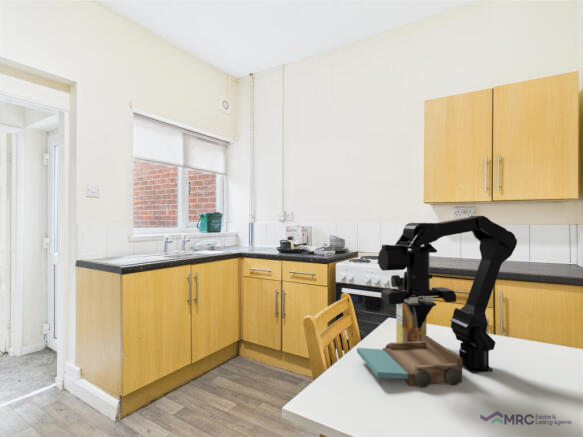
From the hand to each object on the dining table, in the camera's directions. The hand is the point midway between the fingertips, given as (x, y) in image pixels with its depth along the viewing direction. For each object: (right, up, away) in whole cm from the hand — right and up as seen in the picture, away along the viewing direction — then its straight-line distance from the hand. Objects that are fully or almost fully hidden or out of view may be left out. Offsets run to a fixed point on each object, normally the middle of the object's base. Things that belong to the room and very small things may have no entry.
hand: (418, 327), depth 85 cm
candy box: (+6, -12, +20) cm, 24 cm away
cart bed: (+1, -12, +2) cm, 12 cm away
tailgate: (-6, -10, +1) cm, 12 cm away
